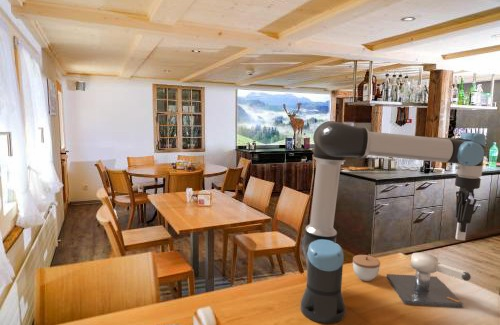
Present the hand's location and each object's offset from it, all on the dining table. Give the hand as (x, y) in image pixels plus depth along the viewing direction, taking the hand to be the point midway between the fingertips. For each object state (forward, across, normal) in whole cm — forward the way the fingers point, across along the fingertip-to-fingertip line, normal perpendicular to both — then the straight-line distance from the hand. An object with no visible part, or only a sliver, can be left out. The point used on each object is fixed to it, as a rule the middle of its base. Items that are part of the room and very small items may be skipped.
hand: (460, 239), depth 124 cm
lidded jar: (+23, -6, -31) cm, 39 cm away
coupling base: (+23, -1, -11) cm, 25 cm away
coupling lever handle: (+13, +3, -6) cm, 15 cm away
